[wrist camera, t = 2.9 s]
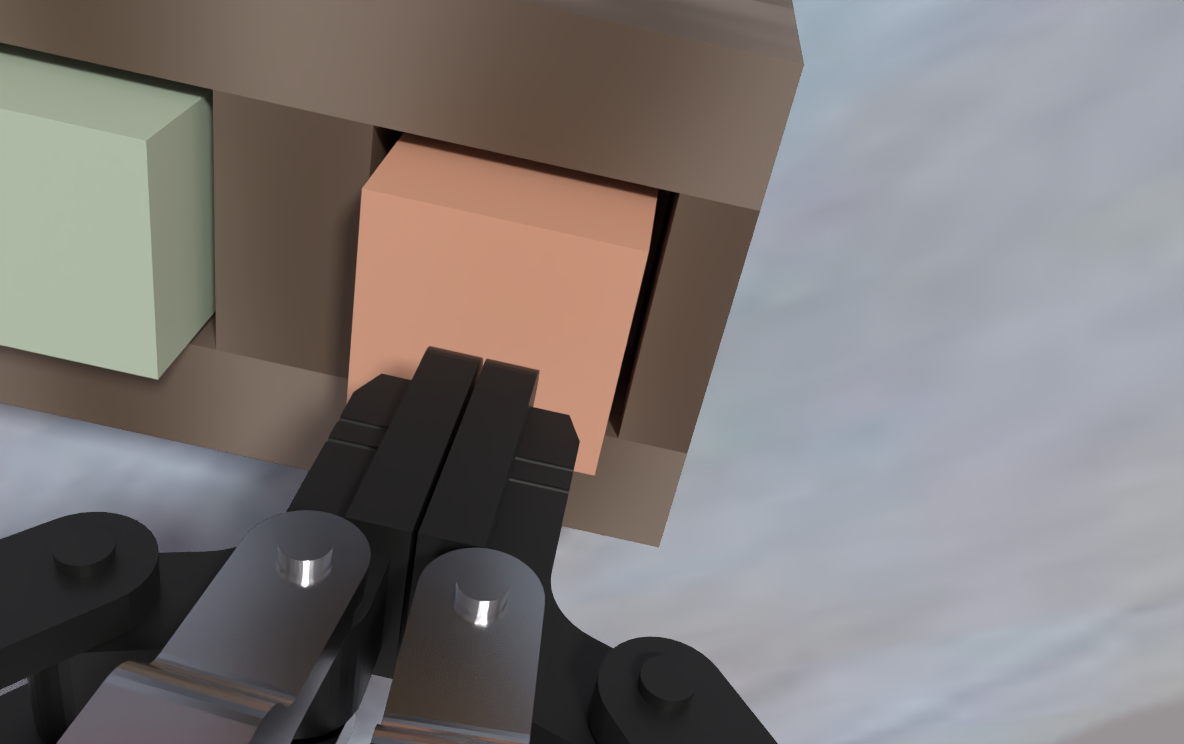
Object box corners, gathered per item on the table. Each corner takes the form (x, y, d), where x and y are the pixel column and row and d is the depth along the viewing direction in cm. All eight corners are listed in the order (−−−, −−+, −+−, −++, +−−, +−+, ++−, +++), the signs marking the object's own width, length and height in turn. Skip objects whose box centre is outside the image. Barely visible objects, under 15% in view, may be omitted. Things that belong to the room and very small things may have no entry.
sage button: (16, 241, 19) (-93, 324, 17) (-13, 19, 17) (-142, 76, 14) (233, 289, 19) (158, 379, 17) (232, 74, 17) (146, 140, 14)
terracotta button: (396, 325, 19) (345, 421, 17) (416, 114, 17) (361, 188, 14) (613, 373, 19) (594, 475, 17) (661, 169, 17) (649, 252, 14)
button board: (-297, 207, 23) (-477, 297, 19) (-447, -283, 18) (-724, -276, 14) (669, 421, 23) (659, 547, 19) (791, -6, 18) (804, 64, 14)
